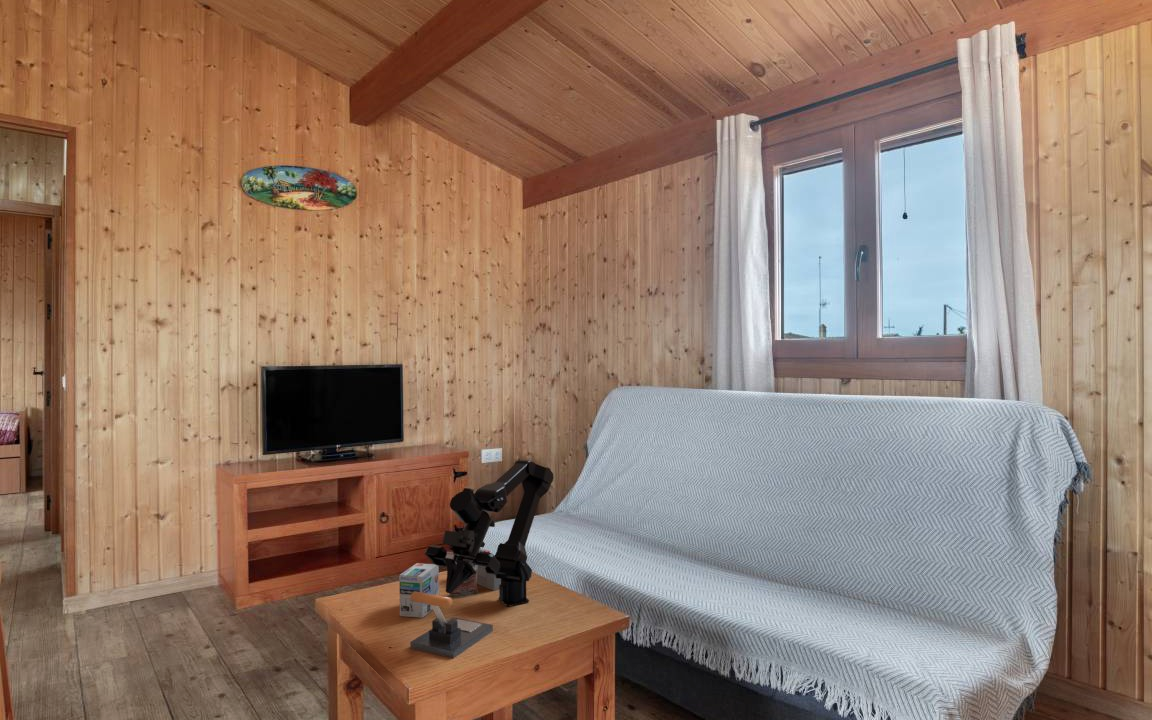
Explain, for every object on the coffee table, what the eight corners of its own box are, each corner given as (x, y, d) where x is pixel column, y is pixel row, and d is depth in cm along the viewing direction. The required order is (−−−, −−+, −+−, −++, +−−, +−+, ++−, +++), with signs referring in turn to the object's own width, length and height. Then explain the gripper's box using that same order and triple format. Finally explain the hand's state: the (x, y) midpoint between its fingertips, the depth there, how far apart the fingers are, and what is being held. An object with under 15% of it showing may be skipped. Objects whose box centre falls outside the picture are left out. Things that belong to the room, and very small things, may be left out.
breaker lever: (430, 617, 157) (414, 589, 152) (465, 624, 153) (450, 595, 148) (425, 625, 155) (409, 597, 150) (460, 632, 151) (445, 603, 146)
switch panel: (452, 622, 167) (452, 601, 167) (492, 630, 161) (492, 608, 161) (410, 648, 152) (410, 624, 152) (453, 658, 147) (453, 633, 147)
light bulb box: (423, 618, 170) (422, 576, 170) (398, 616, 171) (398, 575, 171) (439, 603, 180) (439, 563, 180) (416, 601, 181) (416, 562, 181)
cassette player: (502, 588, 191) (501, 554, 191) (494, 591, 189) (494, 556, 189) (471, 576, 203) (471, 543, 202) (464, 578, 201) (463, 545, 201)
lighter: (450, 598, 184) (450, 562, 184) (448, 594, 187) (447, 559, 187) (479, 594, 187) (478, 558, 187) (476, 590, 190) (475, 555, 190)
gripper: (428, 512, 164) (399, 570, 154) (492, 519, 156) (466, 581, 146) (448, 535, 171) (422, 592, 161) (510, 543, 163) (486, 604, 153)
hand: (447, 592), depth 155 cm, fingers closed
